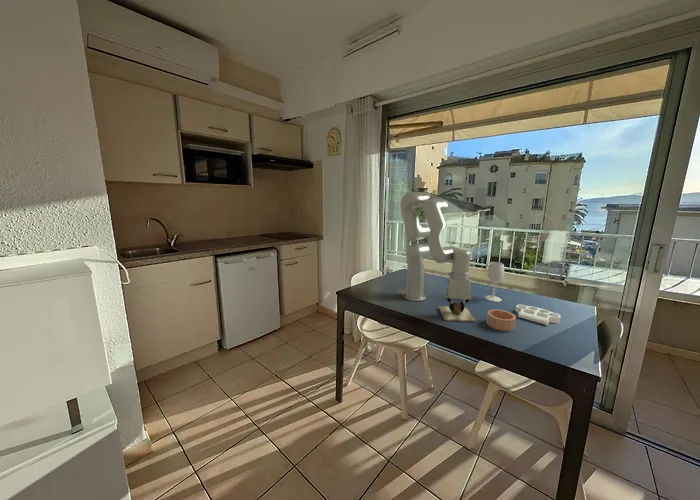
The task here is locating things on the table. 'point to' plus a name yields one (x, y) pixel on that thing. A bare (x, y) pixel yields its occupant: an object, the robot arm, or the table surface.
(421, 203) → the robot arm
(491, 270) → the wineglass
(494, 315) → the bowl
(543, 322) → the white compartment tray
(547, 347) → the table surface
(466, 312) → the lid
